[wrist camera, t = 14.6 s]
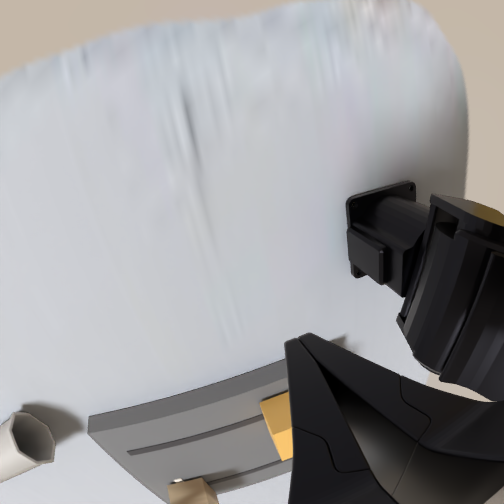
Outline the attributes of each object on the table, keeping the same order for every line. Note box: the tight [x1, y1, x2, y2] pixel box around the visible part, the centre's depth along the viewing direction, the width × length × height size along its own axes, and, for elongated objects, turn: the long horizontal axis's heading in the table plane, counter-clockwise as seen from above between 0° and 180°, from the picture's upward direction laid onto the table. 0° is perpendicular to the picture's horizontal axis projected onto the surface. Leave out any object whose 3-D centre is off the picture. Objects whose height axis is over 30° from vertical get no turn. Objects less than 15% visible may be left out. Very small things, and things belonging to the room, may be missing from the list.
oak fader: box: [167, 478, 219, 504], centre depth 26 cm, size 4×5×4 cm
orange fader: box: [259, 392, 293, 461], centre depth 24 cm, size 4×5×4 cm
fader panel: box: [87, 359, 293, 504], centre depth 28 cm, size 22×18×2 cm
